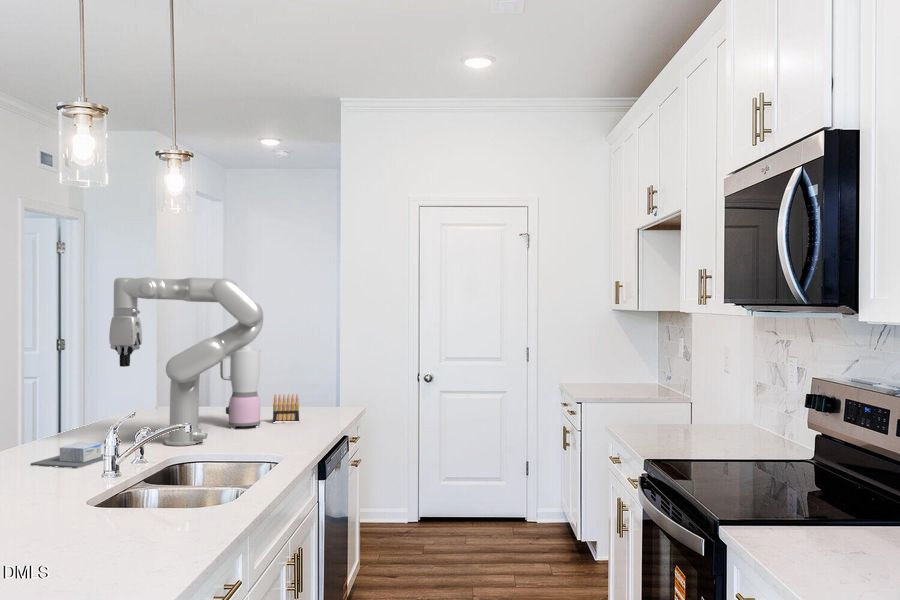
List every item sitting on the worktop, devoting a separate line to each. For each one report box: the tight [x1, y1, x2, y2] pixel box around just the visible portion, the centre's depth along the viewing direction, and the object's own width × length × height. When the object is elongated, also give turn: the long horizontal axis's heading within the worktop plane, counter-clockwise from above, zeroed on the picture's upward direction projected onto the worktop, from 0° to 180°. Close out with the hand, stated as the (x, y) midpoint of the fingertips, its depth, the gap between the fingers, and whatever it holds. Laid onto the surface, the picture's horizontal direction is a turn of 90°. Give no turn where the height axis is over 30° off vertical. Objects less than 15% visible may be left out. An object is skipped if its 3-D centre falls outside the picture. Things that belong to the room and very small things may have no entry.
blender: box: [219, 345, 262, 429], centre depth 278 cm, size 16×12×32 cm
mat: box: [30, 453, 104, 469], centre depth 215 cm, size 16×16×1 cm
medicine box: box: [59, 441, 102, 463], centre depth 215 cm, size 8×4×9 cm
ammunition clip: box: [272, 393, 300, 423], centre depth 289 cm, size 11×2×12 cm, turn 101°
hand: (124, 366), depth 241 cm, fingers closed
